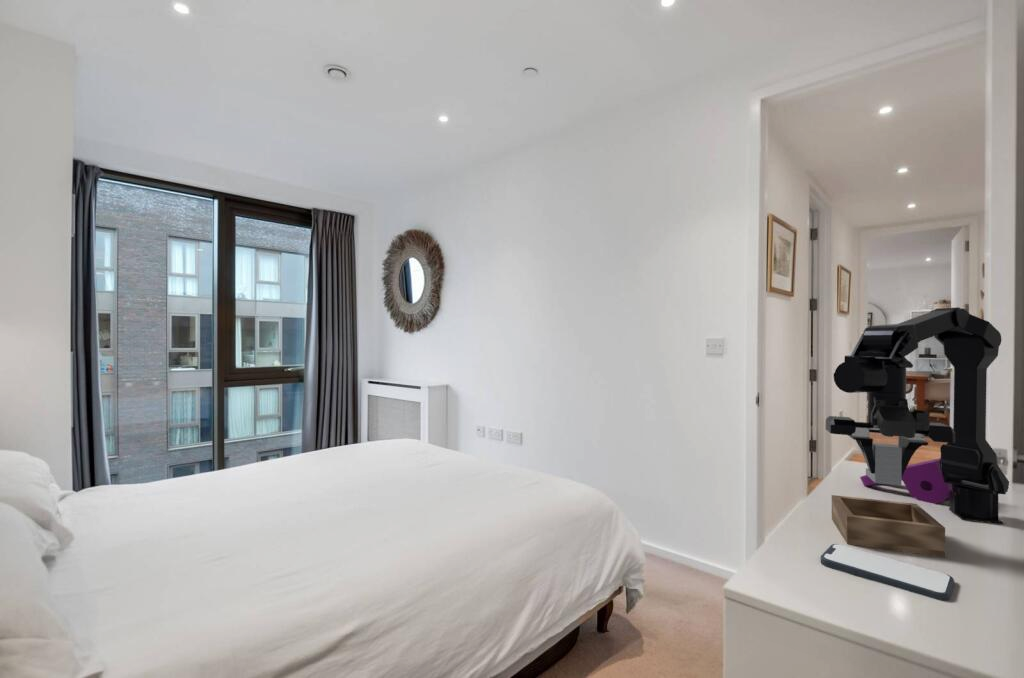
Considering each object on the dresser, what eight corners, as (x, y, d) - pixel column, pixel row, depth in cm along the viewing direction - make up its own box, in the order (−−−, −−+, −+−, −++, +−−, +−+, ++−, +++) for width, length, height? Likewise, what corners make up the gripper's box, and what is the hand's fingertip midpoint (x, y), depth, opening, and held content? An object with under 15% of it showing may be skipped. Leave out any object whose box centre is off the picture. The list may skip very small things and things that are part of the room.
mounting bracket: (870, 513, 119) (956, 500, 106) (853, 479, 122) (934, 461, 109) (886, 506, 124) (970, 492, 111) (869, 473, 127) (949, 456, 114)
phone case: (954, 585, 74) (833, 550, 86) (954, 575, 74) (833, 541, 86) (948, 607, 68) (818, 567, 80) (948, 596, 68) (818, 557, 80)
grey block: (890, 476, 95) (890, 441, 95) (901, 485, 89) (901, 447, 90) (865, 474, 97) (866, 439, 97) (875, 482, 91) (875, 445, 91)
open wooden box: (916, 529, 94) (916, 503, 94) (945, 557, 82) (945, 527, 82) (831, 519, 100) (831, 495, 100) (847, 544, 88) (847, 516, 88)
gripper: (837, 392, 88) (836, 478, 88) (970, 399, 81) (969, 493, 80) (825, 387, 98) (824, 465, 98) (942, 392, 91) (941, 476, 91)
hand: (885, 474), depth 92 cm, fingers closed on grey block, 4 cm apart
